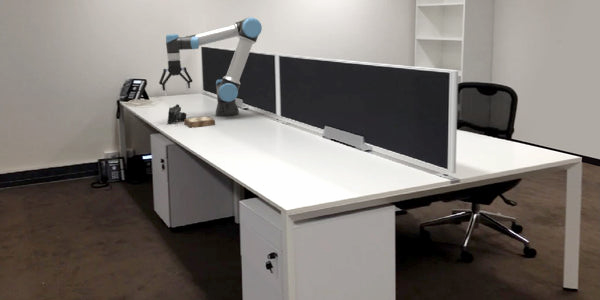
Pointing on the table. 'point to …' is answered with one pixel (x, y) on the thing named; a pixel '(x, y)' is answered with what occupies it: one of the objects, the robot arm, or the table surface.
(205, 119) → the plinth
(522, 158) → the table surface
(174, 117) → the camera
